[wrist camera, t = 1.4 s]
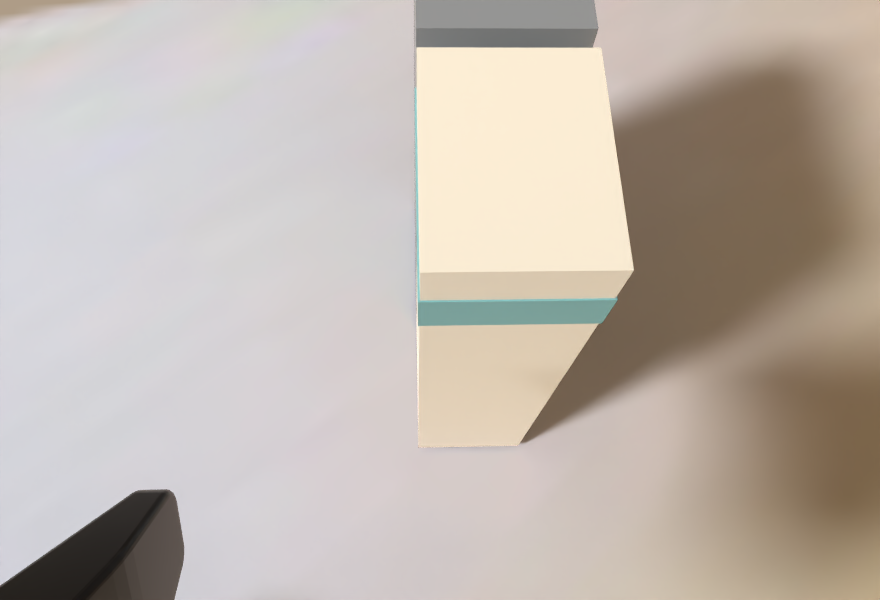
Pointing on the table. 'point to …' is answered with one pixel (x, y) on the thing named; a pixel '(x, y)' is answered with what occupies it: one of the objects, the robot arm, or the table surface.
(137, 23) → the table surface
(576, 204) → the cream long block
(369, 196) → the table surface
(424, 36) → the ticket block
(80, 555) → the robot arm
